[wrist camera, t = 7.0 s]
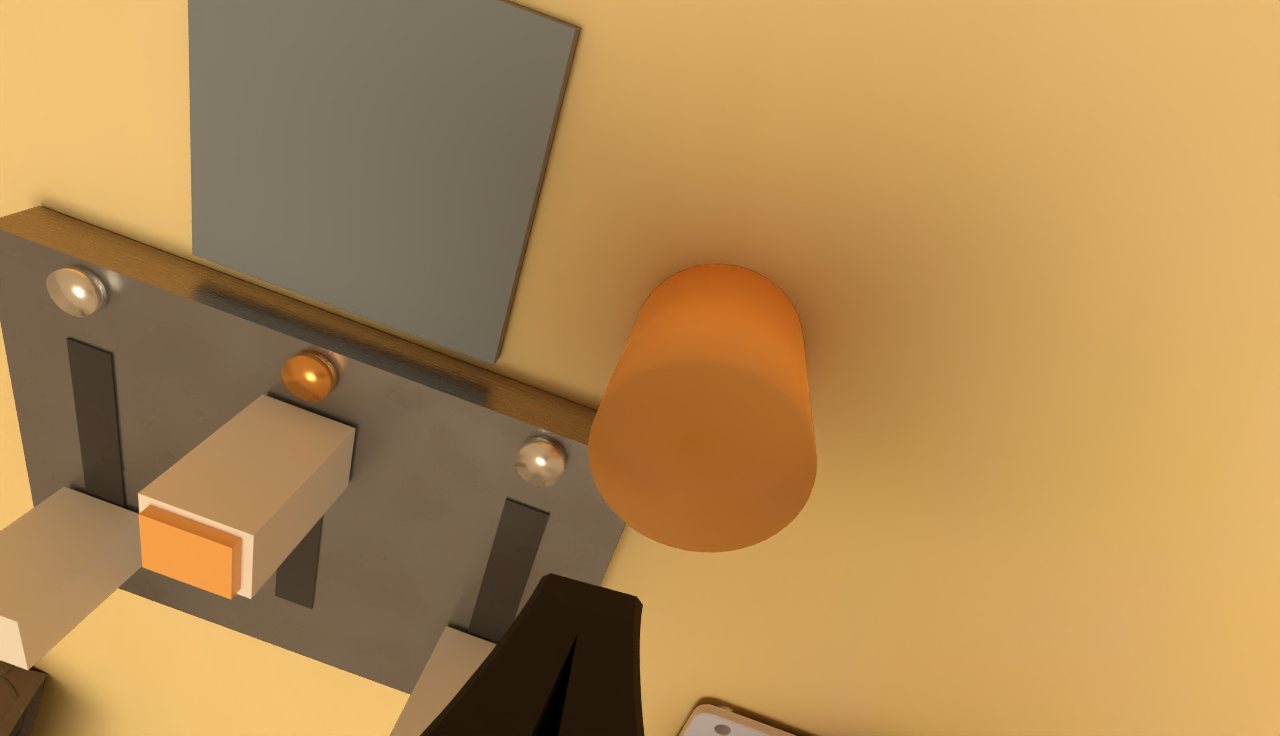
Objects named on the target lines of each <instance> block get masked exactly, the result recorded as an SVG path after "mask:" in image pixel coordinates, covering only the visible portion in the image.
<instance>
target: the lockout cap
mask: <svg viewBox="0 0 1280 736" xmlns="http://www.w3.org/2000/svg"><path fill="white" fill-rule="evenodd" d="M588 458H589V465H590V470H591V473H592V476H593V480H594V482H595V484H596V486H597V488H598V490H599V492H600V494H601V495H602V497H603V499H604V500H605V502H606V503H607V504H608V505H609V507H610V508H611V509H612V510H613V511H614V513H616V514H617V515H618V516H619V517H620V518H621V519H622V520H623V521H624V522H625V523H627V524H628V525H629V526H631V527H632V528H633V529H635V530H636V531H638V532H640V533H641V534H643V535H644V536H646V537H648V538H651V539H653V540H655V541H657V542H659V543H662V544H665V545H668V546H671V547H675V548H679V549H683V550H689V551H696V552H724V551H731V550H737V549H741V548H745V547H748V546H752V545H754V544H757V543H759V542H762V541H764V540H766V539H768V538H770V537H771V536H773V535H775V534H777V533H778V532H779V531H781V530H782V529H783V528H785V527H786V526H787V525H788V524H789V523H790V522H791V521H792V520H793V519H794V518H795V517H796V516H797V515H798V514H799V512H800V511H801V510H802V508H803V507H804V505H805V503H806V502H807V500H808V498H809V496H810V494H811V491H812V488H813V485H814V481H815V476H816V467H817V456H816V447H815V439H814V430H813V421H812V412H811V403H810V394H809V385H808V376H807V367H806V359H805V350H804V341H803V333H802V327H801V323H800V320H799V317H798V315H797V313H796V310H795V308H794V307H793V305H792V303H791V302H790V300H789V299H788V298H787V296H786V295H785V294H784V293H783V292H782V291H781V290H780V289H779V288H778V287H777V286H776V285H775V284H774V283H772V282H771V281H769V280H768V279H766V278H765V277H763V276H761V275H759V274H757V273H755V272H753V271H751V270H748V269H745V268H742V267H737V266H733V265H724V264H708V265H701V266H696V267H692V268H689V269H686V270H683V271H681V272H679V273H677V274H675V275H673V276H671V277H670V278H668V279H667V280H665V281H664V282H663V283H661V284H660V285H659V286H658V287H657V288H656V289H655V290H654V291H653V292H652V293H651V294H650V296H649V297H648V298H647V300H646V301H645V303H644V305H643V307H642V309H641V311H640V313H639V315H638V317H637V320H636V322H635V324H634V327H633V329H632V331H631V334H630V336H629V338H628V341H627V343H626V345H625V348H624V350H623V353H622V355H621V357H620V360H619V362H618V364H617V367H616V369H615V371H614V374H613V376H612V378H611V381H610V383H609V385H608V388H607V390H606V392H605V395H604V397H603V399H602V402H601V404H600V406H599V409H598V411H597V413H596V416H595V418H594V421H593V424H592V427H591V430H590V435H589V441H588Z"/></svg>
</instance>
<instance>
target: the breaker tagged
mask: <svg viewBox="0 0 1280 736" xmlns="http://www.w3.org/2000/svg"><path fill="white" fill-rule="evenodd" d="M355 429H356V428H353V427H350V426H348V425H345V424H342V423H339V422H337V421H334V420H331V419H329V418H326V417H323V416H320V415H318V414H315V413H312V412H309V411H307V410H304V409H301V408H299V407H296V406H293V405H290V404H288V403H285V402H282V401H279V400H277V399H274V398H271V397H269V396H266V395H263V394H262V395H261V396H260V397H258V398H257V399H256V400H255V401H253V402H252V403H251V404H250V405H248V406H247V407H246V408H245V409H243V410H242V411H241V412H240V413H238V414H237V415H236V416H235V417H233V418H232V419H231V420H229V421H228V422H227V423H226V424H224V425H223V426H222V427H221V428H219V429H218V430H217V431H216V432H214V433H213V434H212V435H211V436H209V437H208V438H207V439H206V440H204V441H203V442H202V443H201V444H199V445H198V446H197V447H196V448H194V449H193V450H192V451H190V452H189V453H188V454H187V455H185V456H184V457H183V458H182V459H180V460H179V461H178V462H177V463H175V464H174V465H173V466H172V467H170V468H169V469H168V470H167V471H165V472H164V473H163V474H162V475H160V476H159V477H158V478H157V479H155V480H154V481H153V482H151V483H150V484H149V485H148V486H146V487H145V488H144V489H143V490H141V491H140V492H139V493H138V501H139V514H138V515H139V528H140V541H141V554H142V567H143V568H146V569H148V570H151V571H154V572H157V573H159V574H162V575H165V576H168V577H170V578H173V579H176V580H179V581H181V582H184V583H187V584H190V585H192V586H195V587H198V588H201V589H203V590H206V591H209V592H212V593H214V594H217V595H220V596H223V597H225V598H228V599H232V598H233V597H234V596H235V595H236V594H239V595H241V596H244V597H247V598H249V599H252V598H253V596H254V595H255V594H256V593H257V592H258V591H259V589H260V588H261V587H262V586H263V585H264V584H265V582H266V581H267V580H268V579H269V578H270V577H271V575H272V574H273V573H274V572H275V571H276V570H277V568H278V567H279V566H280V565H281V564H282V563H283V561H284V560H285V559H286V558H287V557H288V556H289V554H290V553H291V552H292V551H293V550H294V549H295V547H296V546H297V545H298V544H299V543H300V542H301V540H302V539H303V538H304V537H305V536H306V534H307V533H308V532H309V531H310V530H311V529H312V527H313V526H314V525H315V524H316V523H317V522H318V520H319V519H320V518H321V517H322V516H323V515H324V513H325V512H326V511H327V510H328V509H329V508H330V506H331V505H332V504H333V503H334V502H335V501H336V499H337V498H338V497H339V496H340V495H341V494H342V492H343V491H344V490H345V489H346V488H347V487H348V483H349V475H350V467H351V460H352V452H353V444H354V437H355Z"/></svg>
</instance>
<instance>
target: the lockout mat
mask: <svg viewBox="0 0 1280 736" xmlns="http://www.w3.org/2000/svg"><path fill="white" fill-rule="evenodd" d="M188 24H189V80H190V137H191V194H192V250H193V255H196V256H198V257H201V258H204V259H207V260H209V261H212V262H215V263H217V264H220V265H223V266H226V267H228V268H231V269H234V270H236V271H239V272H242V273H245V274H247V275H250V276H253V277H255V278H258V279H261V280H264V281H266V282H269V283H272V284H274V285H277V286H280V287H283V288H285V289H288V290H291V291H293V292H296V293H299V294H302V295H304V296H307V297H310V298H312V299H315V300H318V301H321V302H323V303H326V304H329V305H331V306H334V307H337V308H340V309H342V310H345V311H348V312H350V313H353V314H356V315H359V316H361V317H364V318H367V319H370V320H372V321H375V322H378V323H380V324H383V325H386V326H389V327H391V328H394V329H397V330H399V331H402V332H405V333H408V334H410V335H413V336H416V337H418V338H421V339H424V340H427V341H429V342H432V343H435V344H437V345H440V346H443V347H446V348H448V349H451V350H454V351H456V352H459V353H462V354H465V355H467V356H470V357H473V358H475V359H478V360H481V361H484V362H486V363H489V364H492V365H494V364H495V362H496V361H497V360H498V358H499V355H500V351H501V347H502V343H503V339H504V335H505V331H506V327H507V323H508V319H509V315H510V311H511V307H512V303H513V299H514V295H515V291H516V287H517V283H518V278H519V274H520V270H521V266H522V262H523V258H524V254H525V250H526V246H527V242H528V238H529V234H530V230H531V226H532V222H533V218H534V214H535V210H536V206H537V202H538V198H539V194H540V190H541V185H542V181H543V177H544V173H545V169H546V165H547V161H548V157H549V153H550V149H551V145H552V141H553V137H554V133H555V129H556V125H557V121H558V117H559V113H560V109H561V105H562V101H563V96H564V92H565V88H566V84H567V80H568V76H569V72H570V68H571V64H572V60H573V56H574V52H575V48H576V44H577V40H578V36H579V32H580V28H579V27H576V26H574V25H571V24H568V23H566V22H563V21H560V20H557V19H555V18H552V17H549V16H547V15H544V14H541V13H539V12H536V11H533V10H531V9H528V8H525V7H523V6H520V5H517V4H514V3H512V2H509V1H506V0H188Z"/></svg>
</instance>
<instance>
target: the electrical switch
mask: <svg viewBox="0 0 1280 736" xmlns="http://www.w3.org/2000/svg"><path fill="white" fill-rule="evenodd" d="M46 675H47V673H44V672H39V671H34V670H26V669H23V668H19V667H15V666H12V665H9V664H7V663H4V662H2V661H0V736H31V732H32V728H33V724H34V720H35V717H36V713H37V709H38V705H39V702H40V698H41V694H42V690H43V686H44V683H45V679H46ZM20 729H21V730H20Z"/></svg>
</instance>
